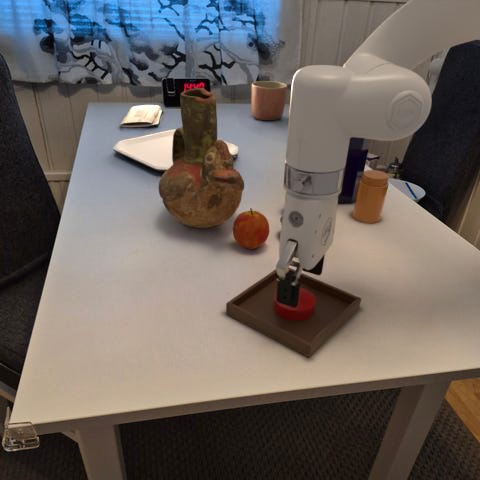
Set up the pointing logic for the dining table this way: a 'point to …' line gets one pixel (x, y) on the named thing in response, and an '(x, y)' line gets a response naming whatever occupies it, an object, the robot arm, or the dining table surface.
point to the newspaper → (142, 116)
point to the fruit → (250, 229)
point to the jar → (371, 196)
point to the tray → (294, 331)
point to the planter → (268, 99)
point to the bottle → (353, 169)
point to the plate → (154, 149)
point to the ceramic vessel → (200, 167)
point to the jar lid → (301, 311)
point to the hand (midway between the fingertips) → (299, 287)
